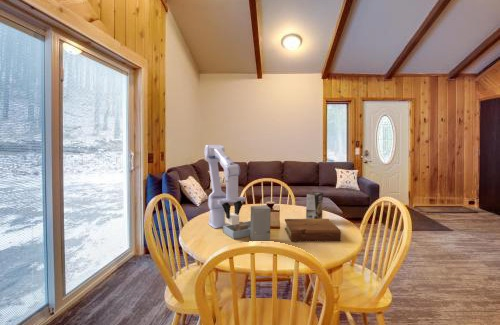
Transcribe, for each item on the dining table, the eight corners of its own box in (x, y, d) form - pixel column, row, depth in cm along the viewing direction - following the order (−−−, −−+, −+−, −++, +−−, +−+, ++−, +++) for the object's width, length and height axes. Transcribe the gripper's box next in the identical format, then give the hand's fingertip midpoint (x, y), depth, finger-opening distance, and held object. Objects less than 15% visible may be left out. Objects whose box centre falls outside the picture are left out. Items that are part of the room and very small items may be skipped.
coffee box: (316, 224, 154) (316, 195, 152) (305, 221, 158) (306, 193, 156) (322, 220, 161) (323, 192, 159) (312, 218, 165) (312, 191, 163)
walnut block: (234, 231, 140) (234, 223, 140) (241, 230, 142) (241, 221, 142) (240, 235, 135) (240, 226, 135) (247, 233, 137) (247, 224, 137)
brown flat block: (291, 243, 127) (291, 231, 127) (284, 229, 146) (284, 219, 146) (340, 242, 128) (340, 230, 128) (328, 228, 147) (328, 218, 146)
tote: (223, 232, 140) (223, 226, 139) (253, 226, 149) (253, 220, 149) (233, 239, 130) (233, 232, 130) (265, 232, 140) (265, 225, 140)
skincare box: (253, 243, 125) (253, 209, 124) (249, 238, 132) (249, 205, 131) (271, 242, 127) (271, 208, 126) (266, 236, 134) (266, 204, 133)
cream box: (226, 221, 135) (225, 213, 135) (233, 220, 137) (233, 212, 137) (231, 225, 130) (231, 216, 130) (239, 223, 132) (239, 215, 132)
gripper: (222, 192, 125) (222, 222, 126) (249, 189, 133) (249, 217, 134) (215, 190, 131) (215, 218, 132) (242, 187, 139) (242, 213, 140)
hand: (232, 217), depth 134 cm, fingers closed on cream box, 4 cm apart
